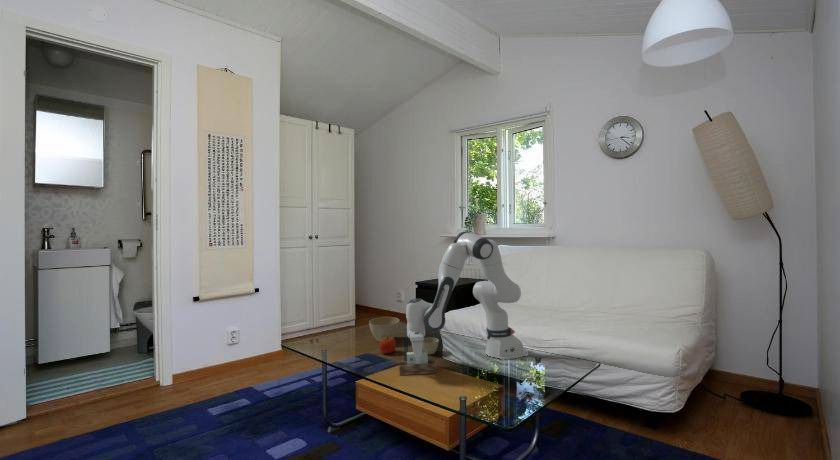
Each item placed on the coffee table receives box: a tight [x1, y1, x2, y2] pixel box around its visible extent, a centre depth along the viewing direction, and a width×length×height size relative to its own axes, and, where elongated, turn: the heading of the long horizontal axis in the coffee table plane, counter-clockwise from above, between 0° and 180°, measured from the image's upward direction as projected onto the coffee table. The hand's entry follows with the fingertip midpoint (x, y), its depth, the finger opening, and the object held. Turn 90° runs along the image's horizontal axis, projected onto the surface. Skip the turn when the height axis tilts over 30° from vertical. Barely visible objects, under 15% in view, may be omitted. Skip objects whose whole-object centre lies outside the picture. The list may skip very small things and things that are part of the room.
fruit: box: [378, 335, 397, 355], centre depth 246 cm, size 10×10×10 cm
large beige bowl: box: [368, 316, 400, 343], centre depth 266 cm, size 18×18×12 cm
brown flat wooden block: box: [398, 358, 438, 376], centre depth 218 cm, size 18×8×4 cm, turn 93°
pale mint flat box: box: [406, 350, 429, 365], centre depth 218 cm, size 10×3×8 cm, turn 93°
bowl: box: [422, 337, 440, 355], centre depth 242 cm, size 10×10×7 cm
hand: (417, 359), depth 217 cm, fingers open, 8 cm apart
